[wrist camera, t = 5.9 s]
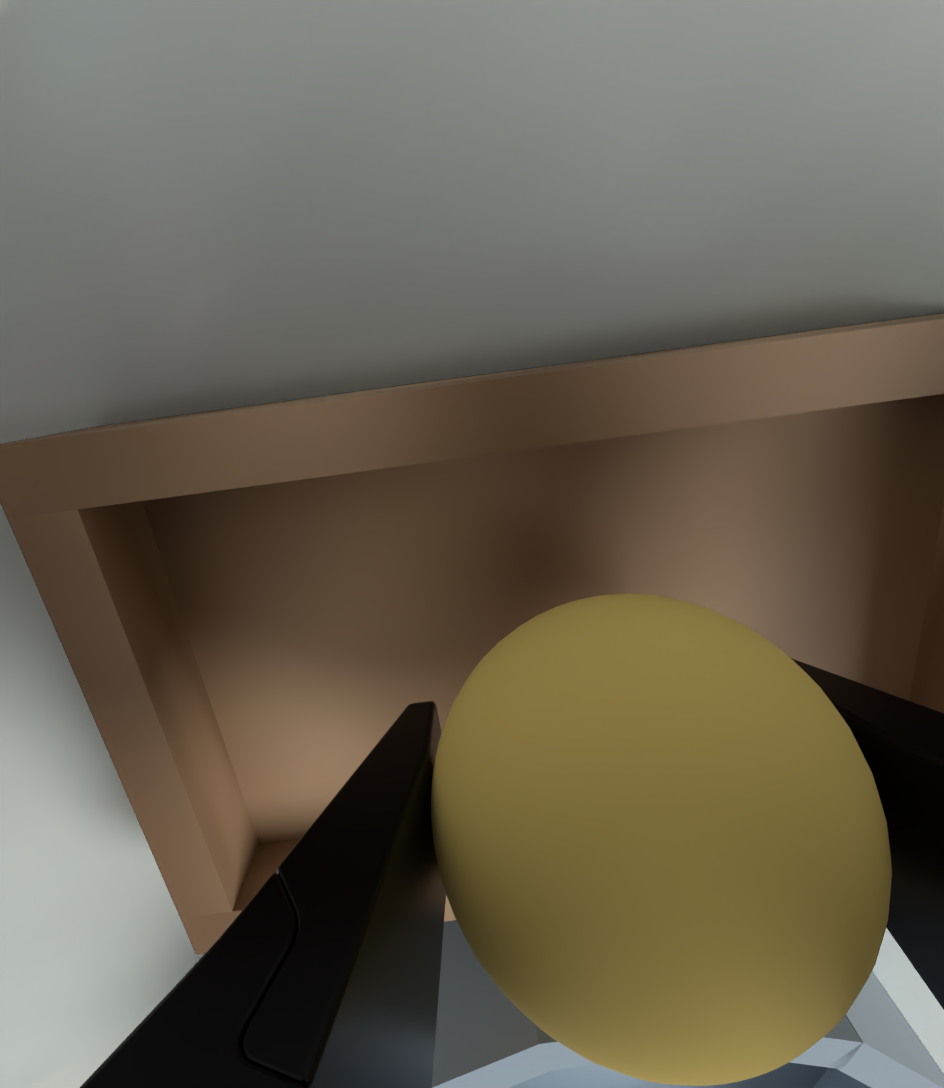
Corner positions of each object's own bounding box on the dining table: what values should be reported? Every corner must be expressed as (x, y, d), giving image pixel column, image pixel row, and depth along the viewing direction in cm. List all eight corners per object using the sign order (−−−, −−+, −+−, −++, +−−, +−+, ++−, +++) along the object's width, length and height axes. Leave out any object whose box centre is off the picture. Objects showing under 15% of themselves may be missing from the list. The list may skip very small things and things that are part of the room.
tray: (979, 307, 10) (1154, 290, 7) (901, 757, 13) (1004, 848, 10) (94, 426, 10) (-22, 448, 7) (242, 844, 13) (196, 954, 10)
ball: (737, 520, 8) (1145, 742, 3) (727, 779, 10) (990, 1173, 5) (412, 563, 8) (364, 846, 3) (456, 816, 10) (465, 1245, 5)
